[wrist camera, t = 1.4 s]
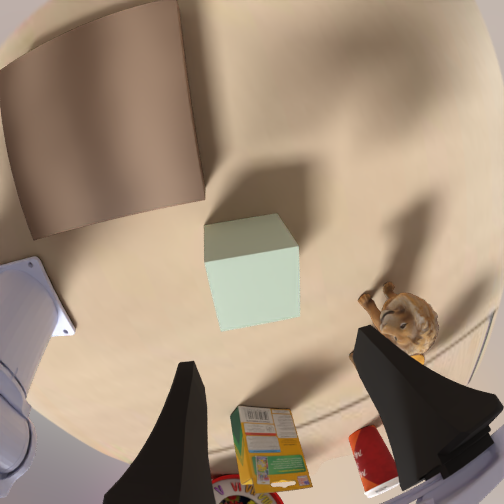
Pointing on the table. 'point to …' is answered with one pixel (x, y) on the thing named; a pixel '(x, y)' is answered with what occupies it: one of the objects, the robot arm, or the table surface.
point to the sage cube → (252, 271)
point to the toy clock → (240, 492)
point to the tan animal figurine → (403, 320)
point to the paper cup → (373, 461)
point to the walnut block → (102, 121)
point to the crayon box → (268, 449)
